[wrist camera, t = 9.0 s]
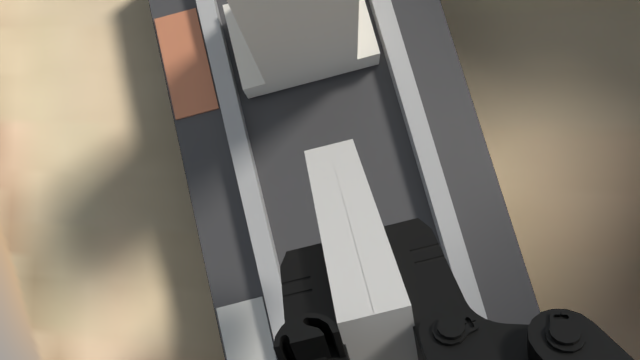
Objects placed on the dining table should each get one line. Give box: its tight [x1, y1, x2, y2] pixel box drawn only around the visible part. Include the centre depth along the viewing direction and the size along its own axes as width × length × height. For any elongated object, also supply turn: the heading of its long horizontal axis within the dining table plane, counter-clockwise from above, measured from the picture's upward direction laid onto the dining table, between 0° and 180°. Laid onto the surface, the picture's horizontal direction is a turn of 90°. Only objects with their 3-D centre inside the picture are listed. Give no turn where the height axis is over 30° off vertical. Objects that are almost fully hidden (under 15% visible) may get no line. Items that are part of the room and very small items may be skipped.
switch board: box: [149, 0, 540, 360], centre depth 24 cm, size 13×28×4 cm, turn 14°
